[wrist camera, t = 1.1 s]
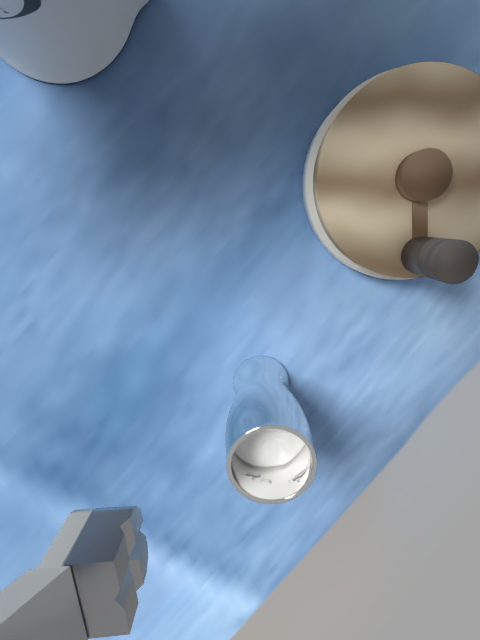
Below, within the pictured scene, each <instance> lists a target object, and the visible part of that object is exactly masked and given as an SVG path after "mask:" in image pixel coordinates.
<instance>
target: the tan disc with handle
mask: <svg viewBox="0 0 480 640" xmlns="http://www.w3.org/2000/svg"><path fill="white" fill-rule="evenodd" d="M313 194H314V202H315V207H316V211H317V214H318V217H319V220H320V222H321V225H322V227H323V229H324V231H325V232H326V234H327V236H328V238H329V239H330V240H331V242H332V243H333V244H334V245H335V247H336V248H337V249H338V250H339V251H340V252H341V253H342V254H343V255H344V256H346V257H347V258H349V259H350V260H351V261H353V262H354V263H356V264H358V265H360V266H362V267H364V268H366V269H369V270H371V271H374V272H377V273H379V274H382V275H387V276H391V277H399V278H419V277H429V278H432V279H435V280H439V281H442V282H445V283H449V284H458V283H461V282H464V281H466V280H467V279H468V278H470V277H471V276H472V275H473V273H474V272H475V270H476V268H477V266H478V260H479V259H478V251H479V250H480V75H478V74H477V73H475V72H473V71H471V70H469V69H466V68H464V67H462V66H458V65H454V64H451V63H445V62H435V61H431V62H417V63H413V64H408V65H404V66H401V67H398V68H395V69H392V70H390V71H388V72H386V73H384V74H382V75H380V76H378V77H377V78H375V79H374V80H372V81H371V82H369V83H368V84H366V85H365V86H364V87H363V88H362V89H360V90H359V91H358V92H357V93H356V94H355V95H354V96H353V97H352V98H351V99H350V100H349V101H348V102H347V103H346V104H345V106H344V107H343V108H342V109H341V110H340V111H339V112H338V114H337V115H336V116H335V118H334V119H333V121H332V122H331V124H330V125H329V127H328V129H327V131H326V133H325V135H324V137H323V139H322V142H321V144H320V147H319V150H318V153H317V157H316V161H315V166H314V174H313Z"/></svg>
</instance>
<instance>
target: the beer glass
mask: <svg viewBox="0 0 480 640" xmlns="http://www.w3.org/2000/svg"><path fill="white" fill-rule="evenodd" d="M288 387H289V379H288V374H287V372H286V370H285V368H284V367H283V366H282V364H281V363H279V362H278V361H277V360H275V359H273V358H270V357H267V356H255V357H252V358H249V359H247V360H245V361H244V362H242V363H241V364H240V365H239V367H238V368H237V369H236V371H235V373H234V376H233V389H234V392H235V395H236V397H235V399H234V401H233V403H232V406H231V408H230V411H229V415H228V418H227V424H226V432H225V447H226V459H227V463H226V467H227V474H228V477H229V480H230V482H231V483H232V485H233V486H234V488H235V489H236V490H237V491H238V492H239V493H240V494H241V495H243V496H244V497H246V498H248V499H250V500H252V501H254V502H258V503H262V504H279V503H284V502H287V501H290V500H292V499H294V498H296V497H298V496H299V495H301V494H302V493H303V492H304V491H305V490H306V489H307V488H308V487H309V486H310V484H311V483H312V481H313V479H314V477H315V474H316V470H317V457H316V453H315V450H314V444H313V439H312V434H311V430H310V427H309V423H308V420H307V418H306V416H305V413H304V411H303V409H302V407H301V406H300V404H299V403H298V401H297V399H296V398H295V397H294V396H293V394H292V393H291V392H290V391H289V389H288Z"/></svg>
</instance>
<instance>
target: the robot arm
mask: <svg viewBox="0 0 480 640" xmlns="http://www.w3.org/2000/svg"><path fill="white" fill-rule="evenodd" d="M148 1H149V0H0V57H1V58H2V59H3V60H4V61H6V62H7V63H8V64H9V65H11V66H12V67H13V68H15V69H16V70H18V71H19V72H21V73H23V74H25V75H27V76H29V77H31V78H34V79H37V80H40V81H44V82H49V83H73V82H78V81H81V80H84V79H87V78H89V77H91V76H93V75H95V74H97V73H98V72H100V71H101V70H103V69H104V68H105V67H107V66H108V65H109V64H110V63H111V62H112V61H113V60H114V59H115V57H116V56H117V55H118V54H119V52H120V51H121V49H122V48H123V46H124V44H125V42H126V40H127V38H128V36H129V34H130V31H131V28H132V26H133V23H134V20H135V18H136V16H137V14H138V12H139V10H140V9H141V8H142V7H143V6H144V5H145V4H146V3H147V2H148ZM142 522H143V519H142V514H141V510H140V508H139V507H138V506H125V507H108V508H96V509H80V510H74V511H73V512H71V513H70V514H69V516H68V517H67V519H66V521H65V522H64V524H63V526H62V527H61V529H60V531H59V532H58V534H57V536H56V537H55V539H54V541H53V542H52V544H51V546H50V547H49V549H48V551H47V552H46V554H45V556H44V557H43V559H42V561H41V562H40V564H39V566H38V567H37V568H36V569H29V570H28V571H27V572H25V573H24V574H23V575H21V576H20V577H19V578H17V579H16V580H15V581H13V582H12V583H11V584H9V585H8V586H7V587H5V588H4V589H3V590H1V591H0V640H88V639H90V638H99V637H108V636H118V635H127V634H130V631H131V627H132V624H133V620H134V616H135V613H136V609H137V606H138V599H137V594H136V591H137V590H138V589H139V588H140V587H141V586H142V585H143V584H144V580H145V576H146V572H147V562H148V546H147V540H146V536H145V535H144V534H143V533H141V532H140V528H141V525H142Z"/></svg>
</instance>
